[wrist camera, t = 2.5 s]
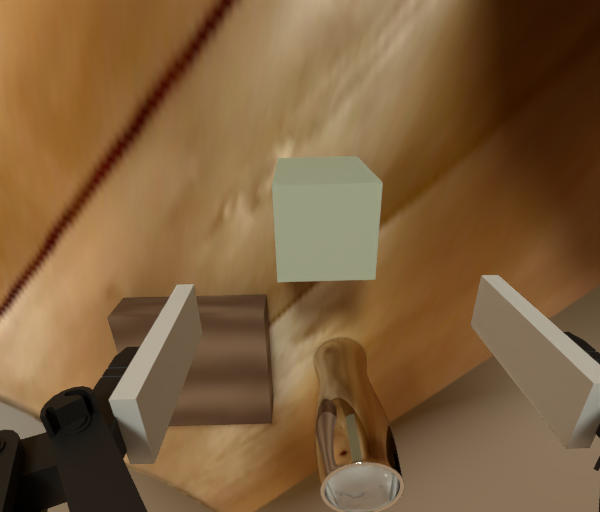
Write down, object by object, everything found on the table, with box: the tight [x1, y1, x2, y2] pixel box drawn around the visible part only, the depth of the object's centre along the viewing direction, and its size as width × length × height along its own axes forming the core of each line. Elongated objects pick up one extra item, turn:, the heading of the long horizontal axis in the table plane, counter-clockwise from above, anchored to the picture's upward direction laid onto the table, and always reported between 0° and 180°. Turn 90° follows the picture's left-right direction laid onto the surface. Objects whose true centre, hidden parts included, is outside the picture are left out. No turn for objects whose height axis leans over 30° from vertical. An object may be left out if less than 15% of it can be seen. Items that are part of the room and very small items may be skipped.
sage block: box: [272, 156, 383, 282], centre depth 28 cm, size 7×7×10 cm
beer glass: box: [314, 338, 404, 512], centre depth 34 cm, size 7×7×15 cm
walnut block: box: [108, 295, 273, 426], centre depth 39 cm, size 15×15×4 cm
